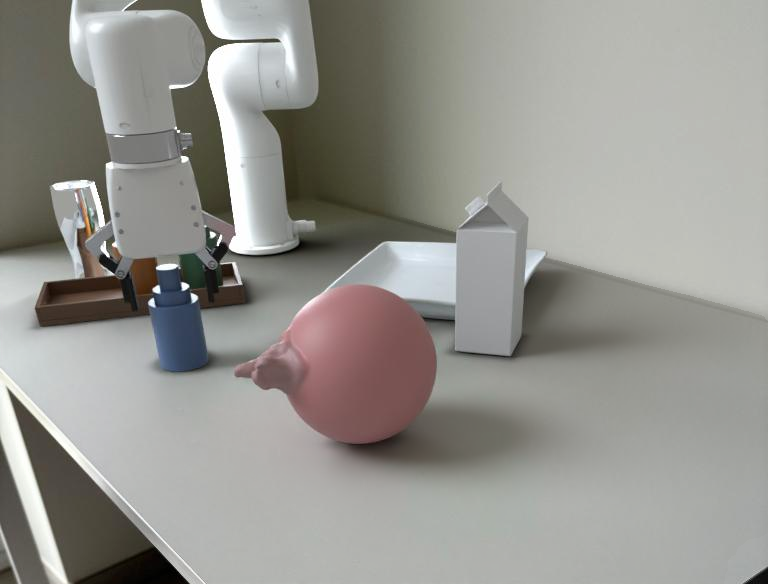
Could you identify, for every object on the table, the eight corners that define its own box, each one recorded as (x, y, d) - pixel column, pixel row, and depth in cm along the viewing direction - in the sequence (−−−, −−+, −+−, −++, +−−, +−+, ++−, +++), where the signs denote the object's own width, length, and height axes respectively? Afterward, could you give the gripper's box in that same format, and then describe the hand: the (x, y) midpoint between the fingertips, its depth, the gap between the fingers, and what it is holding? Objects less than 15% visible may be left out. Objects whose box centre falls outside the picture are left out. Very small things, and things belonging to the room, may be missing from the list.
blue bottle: (207, 350, 104) (191, 257, 97) (210, 368, 99) (193, 271, 92) (160, 356, 103) (141, 262, 96) (160, 374, 98) (140, 277, 91)
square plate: (384, 261, 134) (383, 238, 131) (547, 272, 125) (549, 247, 123) (319, 317, 113) (317, 289, 110) (511, 334, 104) (513, 305, 102)
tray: (238, 279, 129) (235, 261, 127) (245, 303, 119) (242, 284, 117) (48, 299, 123) (43, 281, 122) (39, 326, 113) (34, 307, 112)
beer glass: (63, 286, 129) (38, 188, 120) (92, 273, 134) (69, 178, 126) (98, 290, 126) (74, 190, 118) (126, 277, 132) (105, 180, 123)
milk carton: (521, 336, 104) (531, 181, 93) (510, 357, 98) (519, 195, 88) (468, 332, 106) (471, 179, 95) (454, 352, 100) (456, 193, 90)
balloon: (231, 424, 86) (209, 283, 77) (405, 392, 91) (402, 256, 82) (261, 495, 74) (239, 337, 65) (460, 453, 79) (463, 301, 70)
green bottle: (222, 281, 125) (210, 201, 119) (225, 293, 120) (213, 210, 114) (183, 285, 124) (169, 205, 117) (185, 298, 119) (170, 214, 113)
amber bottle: (164, 288, 124) (148, 207, 117) (164, 300, 119) (148, 216, 112) (124, 292, 122) (106, 211, 116) (123, 305, 118) (104, 220, 111)
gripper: (222, 137, 92) (242, 286, 101) (64, 149, 88) (101, 302, 98) (227, 147, 86) (248, 305, 95) (58, 161, 82) (97, 323, 92)
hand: (173, 303), depth 97 cm, fingers open, 8 cm apart
